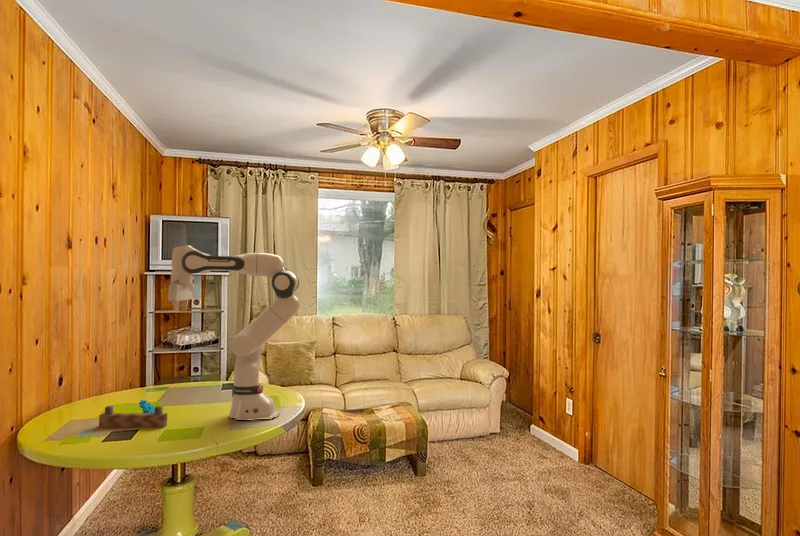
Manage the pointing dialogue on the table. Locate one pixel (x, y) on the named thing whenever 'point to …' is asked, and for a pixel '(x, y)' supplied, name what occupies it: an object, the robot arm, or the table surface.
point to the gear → (147, 407)
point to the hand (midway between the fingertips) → (180, 310)
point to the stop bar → (133, 418)
